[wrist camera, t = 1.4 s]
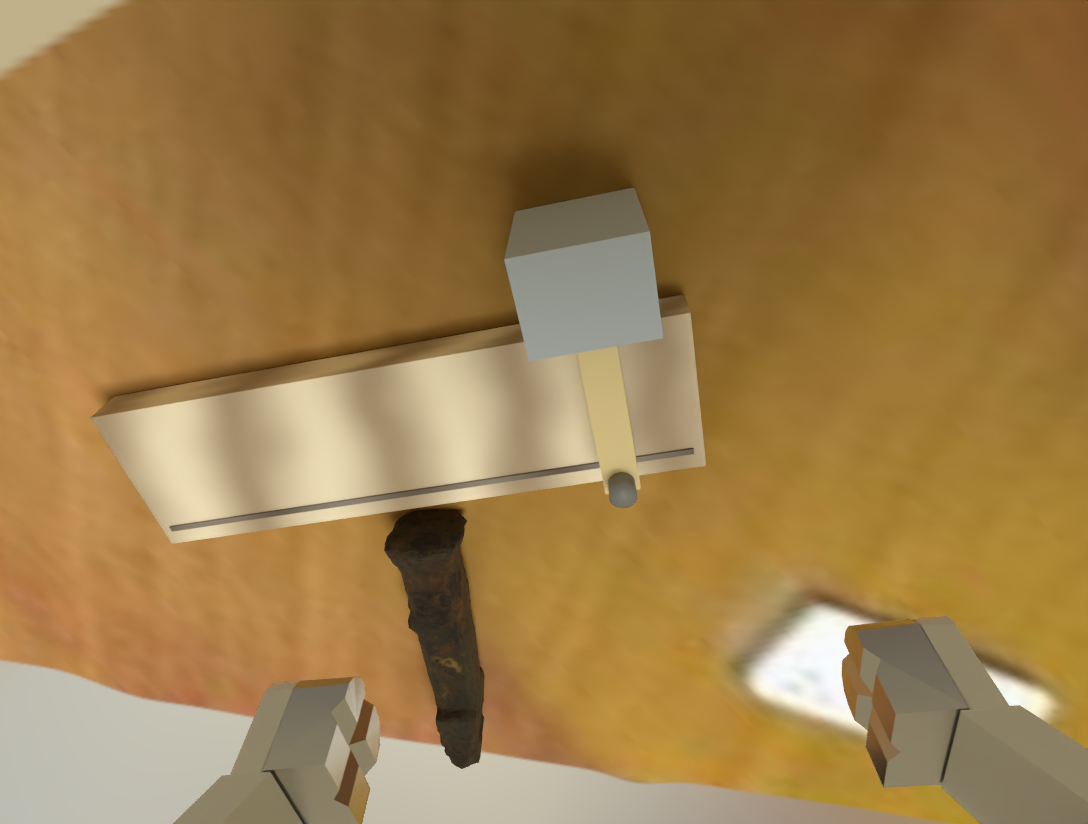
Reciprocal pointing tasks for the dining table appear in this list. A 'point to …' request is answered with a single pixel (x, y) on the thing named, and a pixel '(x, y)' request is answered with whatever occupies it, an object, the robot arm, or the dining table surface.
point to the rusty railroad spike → (443, 624)
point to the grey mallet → (589, 308)
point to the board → (394, 430)
